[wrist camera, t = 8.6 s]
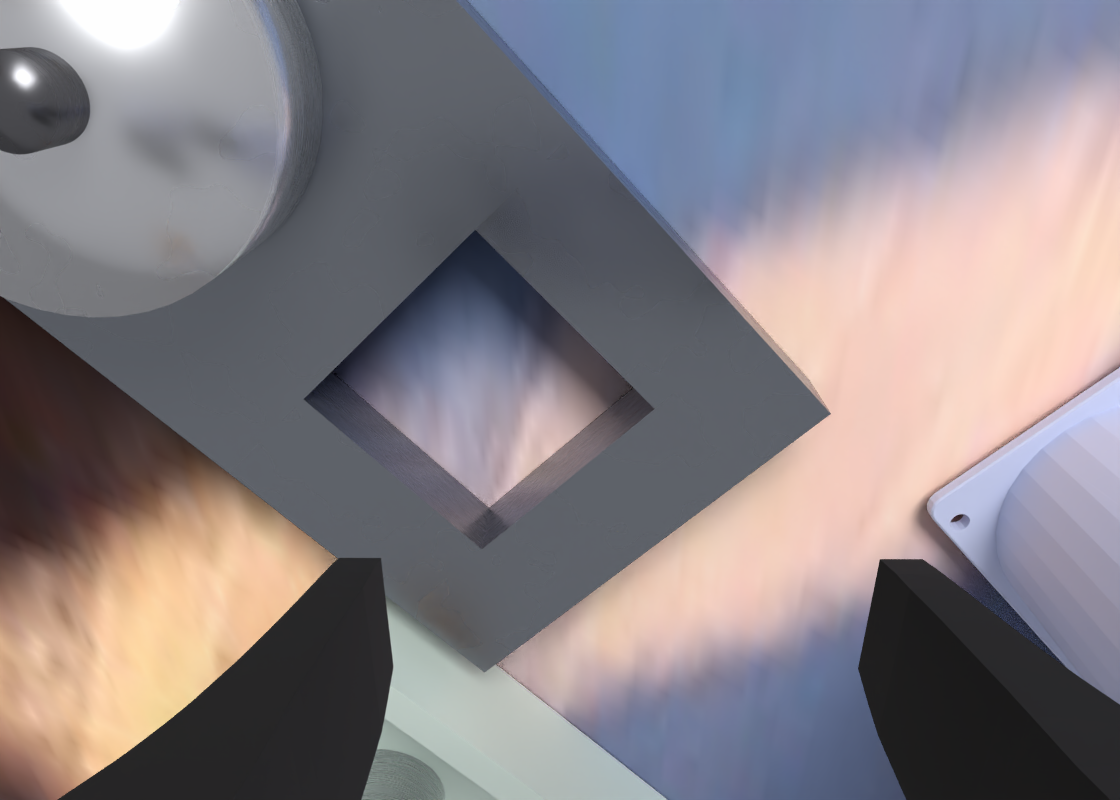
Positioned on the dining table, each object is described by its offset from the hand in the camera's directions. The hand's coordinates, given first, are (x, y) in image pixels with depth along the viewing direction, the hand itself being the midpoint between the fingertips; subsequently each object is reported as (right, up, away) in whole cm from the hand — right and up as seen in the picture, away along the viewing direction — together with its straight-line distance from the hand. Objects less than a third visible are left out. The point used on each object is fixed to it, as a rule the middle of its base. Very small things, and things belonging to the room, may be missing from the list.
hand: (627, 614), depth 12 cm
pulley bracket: (-6, +7, +8) cm, 13 cm away
